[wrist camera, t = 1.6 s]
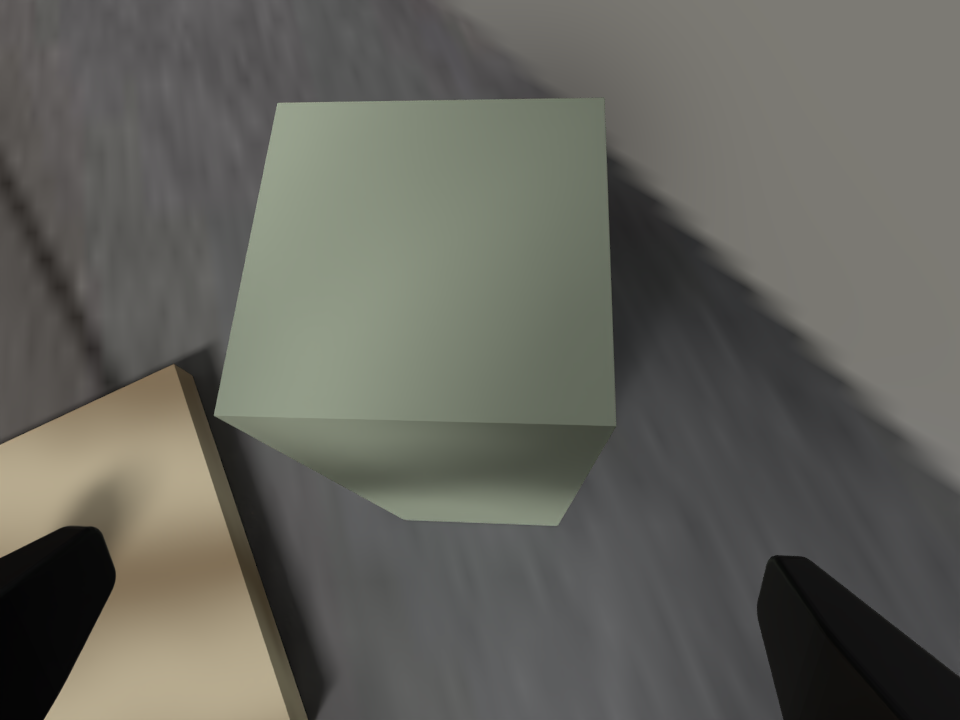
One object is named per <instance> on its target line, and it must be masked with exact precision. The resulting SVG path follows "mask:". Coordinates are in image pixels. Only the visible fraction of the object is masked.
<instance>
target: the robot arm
mask: <svg viewBox="0 0 960 720" xmlns="http://www.w3.org/2000/svg"><path fill="white" fill-rule="evenodd" d="M115 581H116V570H115V566H114V564H113V561H112V558H111V555H110V553H109V550H108V547H107V544H106V542H105V539H104V536H103V534H102V532H101V531H100V530H99V529H98V528H96V527H93V526H74V525H71V526H65V527H62V528H59V529H57V530H55V531H53V532H51V533H49V534H47V535H45V536H43V537H41V538H39V539H37V540H35V541H33V542H31V543H29V544H27V545H25V546H23V547H21V548H19V549H17V550H15V551H13V552H11V553H9V554H7V555H5V556H3V557H1V558H0V720H44V719H45V717H46V716H47V714H48V712H49V711H50V709H51V707H52V705H53V704H54V702H55V700H56V699H57V697H58V695H59V693H60V691H61V690H62V688H63V686H64V684H65V682H66V680H67V679H68V677H69V675H70V673H71V671H72V669H73V667H74V665H75V663H76V661H77V659H78V657H79V655H80V653H81V651H82V649H83V647H84V645H85V643H86V641H87V639H88V637H89V635H90V633H91V632H92V630H93V628H94V626H95V624H96V622H97V620H98V618H99V616H100V614H101V612H102V610H103V608H104V606H105V604H106V602H107V600H108V598H109V596H110V594H111V592H112V590H113V588H114V585H115ZM757 615H758V621H759V626H760V630H761V633H762V637H763V641H764V645H765V649H766V653H767V657H768V661H769V665H770V669H771V673H772V677H773V681H774V684H775V688H776V692H777V696H778V700H779V704H780V708H781V712H782V716H783V720H960V677H959V676H958V675H956V674H955V673H954V672H953V671H951V670H950V669H949V668H948V667H946V666H945V665H944V664H942V663H941V662H940V661H939V660H937V659H936V658H935V657H933V656H932V655H931V654H930V653H928V652H927V651H926V650H924V649H923V648H922V647H921V646H919V645H918V644H917V643H916V642H914V641H913V640H912V639H910V638H909V637H908V636H907V635H905V634H904V633H903V632H901V631H900V630H899V629H898V628H896V627H895V626H894V625H892V624H891V623H890V622H889V621H887V620H886V619H885V618H884V617H882V616H881V615H880V614H878V613H877V612H876V611H875V610H873V609H872V608H871V607H869V606H868V605H867V604H866V603H864V602H863V601H862V600H861V599H859V598H858V597H857V596H855V595H854V594H853V593H852V592H850V591H849V590H848V589H846V588H845V587H844V586H843V585H841V584H840V583H839V582H837V581H836V580H835V579H834V578H832V577H831V576H830V575H829V574H827V573H826V572H825V571H823V570H822V569H821V568H820V567H818V566H817V565H816V564H814V563H813V562H812V561H810V560H809V559H807V558H805V557H801V556H782V555H776V556H772V557H771V558H770V559H769V560H768V563H767V565H766V569H765V573H764V577H763V582H762V586H761V590H760V594H759V598H758V603H757Z"/></svg>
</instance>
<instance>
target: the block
mask: <svg viewBox="0 0 960 720" xmlns="http://www.w3.org/2000/svg"><path fill="white" fill-rule="evenodd" d="M214 416H215V417H217V418H219V419H221V420H223V421H224V422H226V423H228V424H230V425H232V426H234V427H235V428H237V429H239V430H241V431H243V432H245V433H246V434H248V435H250V436H252V437H254V438H256V439H257V440H259V441H261V442H263V443H265V444H267V445H268V446H270V447H272V448H274V449H276V450H278V451H279V452H281V453H283V454H285V455H287V456H288V457H290V458H292V459H294V460H296V461H298V462H299V463H301V464H303V465H305V466H307V467H309V468H310V469H312V470H314V471H316V472H318V473H320V474H321V475H323V476H325V477H327V478H329V479H331V480H332V481H334V482H336V483H338V484H340V485H342V486H343V487H345V488H347V489H349V490H351V491H353V492H354V493H356V494H358V495H360V496H362V497H363V498H365V499H367V500H369V501H371V502H373V503H374V504H376V505H378V506H380V507H382V508H384V509H385V510H387V511H389V512H391V513H393V514H395V515H396V516H398V517H400V518H402V519H404V520H420V521H445V522H471V523H497V524H522V525H548V526H558V524H559V523H560V521H561V519H562V518H563V516H564V514H565V513H566V511H567V509H568V507H569V506H570V504H571V502H572V501H573V499H574V497H575V495H576V494H577V492H578V490H579V489H580V487H581V485H582V484H583V482H584V480H585V478H586V477H587V475H588V473H589V472H590V470H591V468H592V466H593V465H594V463H595V461H596V460H597V458H598V456H599V455H600V453H601V451H602V449H603V448H604V446H605V444H606V443H607V441H608V439H609V438H610V436H611V434H612V432H613V431H614V429H615V427H616V405H615V378H614V350H613V322H612V294H611V266H610V238H609V210H608V183H607V155H606V127H605V99H604V98H555V99H494V100H432V101H371V102H309V103H277V108H276V113H275V118H274V123H273V128H272V133H271V138H270V143H269V148H268V152H267V157H266V162H265V167H264V172H263V177H262V182H261V187H260V192H259V196H258V201H257V206H256V211H255V216H254V221H253V226H252V231H251V236H250V241H249V245H248V250H247V255H246V260H245V265H244V270H243V275H242V280H241V285H240V289H239V294H238V299H237V304H236V309H235V314H234V319H233V324H232V329H231V334H230V338H229V343H228V348H227V353H226V358H225V363H224V368H223V373H222V378H221V382H220V387H219V392H218V397H217V402H216V407H215V412H214Z"/></svg>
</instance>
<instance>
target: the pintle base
mask: <svg viewBox="0 0 960 720" xmlns="http://www.w3.org/2000/svg"><path fill="white" fill-rule="evenodd" d="M71 525H74V526H93V527H96V528H98V529H99V530H100V531H101V532H102V534H103V536H104V539H105V542H106V544H107V547H108V550H109V553H110V555H111V558H112V561H113V564H114V566H115V570H116V581H115V585H114V588H113V590H112V592H111V594H110V596H109V598H108V600H107V602H106V604H105V606H104V608H103V610H102V612H101V614H100V616H99V618H98V620H97V622H96V624H95V626H94V628H93V630H92V632H91V633H90V635H89V637H88V639H87V641H86V643H85V645H84V647H83V649H82V651H81V653H80V655H79V657H78V659H77V661H76V663H75V665H74V667H73V669H72V671H71V673H70V675H69V677H68V679H67V680H66V682H65V684H64V686H63V688H62V690H61V691H60V693H59V695H58V697H57V699H56V700H55V702H54V704H53V705H52V707H51V709H50V711H49V712H48V714H47V716H46V717H45V719H44V720H308V718H307V715H306V712H305V709H304V706H303V703H302V700H301V697H300V694H299V691H298V688H297V686H296V683H295V680H294V677H293V674H292V671H291V668H290V665H289V662H288V659H287V656H286V653H285V650H284V647H283V644H282V641H281V638H280V635H279V632H278V629H277V626H276V623H275V620H274V617H273V614H272V611H271V608H270V605H269V602H268V599H267V596H266V593H265V590H264V587H263V584H262V581H261V578H260V575H259V572H258V569H257V566H256V563H255V561H254V558H253V555H252V552H251V549H250V546H249V543H248V540H247V537H246V534H245V531H244V528H243V525H242V522H241V519H240V516H239V513H238V510H237V507H236V504H235V501H234V498H233V495H232V492H231V489H230V486H229V483H228V480H227V477H226V474H225V471H224V468H223V465H222V462H221V459H220V456H219V453H218V450H217V447H216V444H215V441H214V439H213V436H212V433H211V430H210V427H209V424H208V421H207V418H206V415H205V412H204V409H203V406H202V403H201V400H200V397H199V394H198V391H197V388H196V385H195V382H194V379H193V376H192V375H191V374H189V373H187V372H186V371H184V370H183V369H181V368H179V367H178V366H176V365H175V364H173V365H171V366H168V367H166V368H164V369H162V370H160V371H158V372H156V373H153V374H151V375H149V376H147V377H145V378H143V379H141V380H138V381H136V382H134V383H132V384H130V385H128V386H125V387H123V388H121V389H119V390H117V391H115V392H113V393H110V394H108V395H106V396H104V397H102V398H100V399H98V400H95V401H93V402H91V403H89V404H87V405H85V406H83V407H80V408H78V409H76V410H74V411H72V412H70V413H67V414H65V415H63V416H61V417H59V418H57V419H55V420H52V421H50V422H48V423H46V424H44V425H42V426H40V427H37V428H35V429H33V430H31V431H29V432H27V433H24V434H22V435H20V436H18V437H16V438H14V439H12V440H9V441H7V442H5V443H3V444H1V445H0V558H1V557H3V556H5V555H7V554H9V553H11V552H13V551H15V550H17V549H19V548H21V547H23V546H25V545H27V544H29V543H31V542H33V541H35V540H37V539H39V538H41V537H43V536H45V535H47V534H49V533H51V532H53V531H55V530H57V529H59V528H62V527H65V526H71Z"/></svg>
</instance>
